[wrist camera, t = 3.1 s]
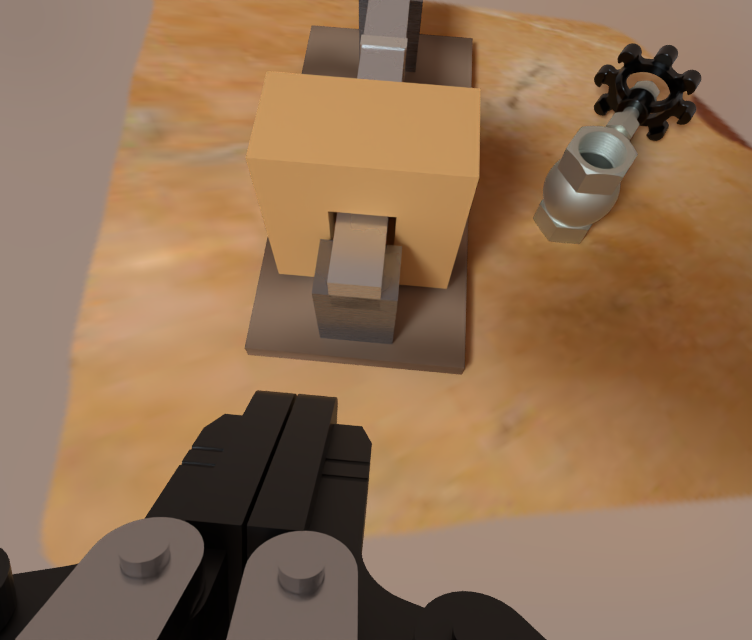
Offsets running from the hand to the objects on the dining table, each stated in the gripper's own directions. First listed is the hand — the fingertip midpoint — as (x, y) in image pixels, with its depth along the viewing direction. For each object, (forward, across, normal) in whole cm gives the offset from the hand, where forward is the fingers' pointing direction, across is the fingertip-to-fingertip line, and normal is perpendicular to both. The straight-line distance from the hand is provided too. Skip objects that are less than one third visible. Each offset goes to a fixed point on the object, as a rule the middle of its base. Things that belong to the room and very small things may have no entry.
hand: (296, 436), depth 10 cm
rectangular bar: (+27, 0, -3) cm, 27 cm away
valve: (+29, -14, -3) cm, 33 cm away
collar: (+23, 0, +1) cm, 23 cm away
